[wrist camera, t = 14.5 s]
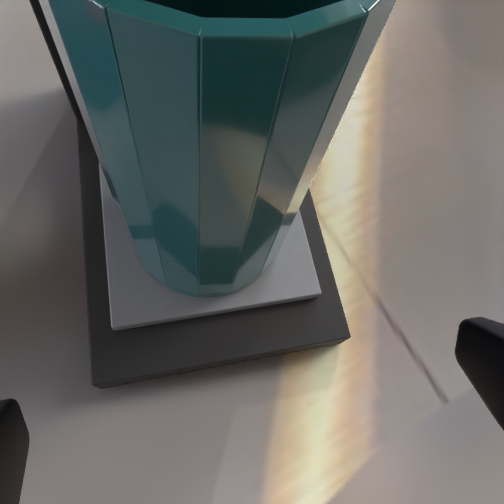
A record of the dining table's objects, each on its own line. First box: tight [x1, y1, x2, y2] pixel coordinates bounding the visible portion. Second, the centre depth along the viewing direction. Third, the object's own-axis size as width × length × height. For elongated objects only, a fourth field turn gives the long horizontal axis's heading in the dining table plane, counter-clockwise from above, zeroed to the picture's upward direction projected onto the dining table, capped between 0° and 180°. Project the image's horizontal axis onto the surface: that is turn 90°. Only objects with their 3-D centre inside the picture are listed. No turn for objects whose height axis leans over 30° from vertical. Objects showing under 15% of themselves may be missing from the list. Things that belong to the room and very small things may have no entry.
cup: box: [39, 0, 396, 297], centre depth 13 cm, size 7×7×13 cm
